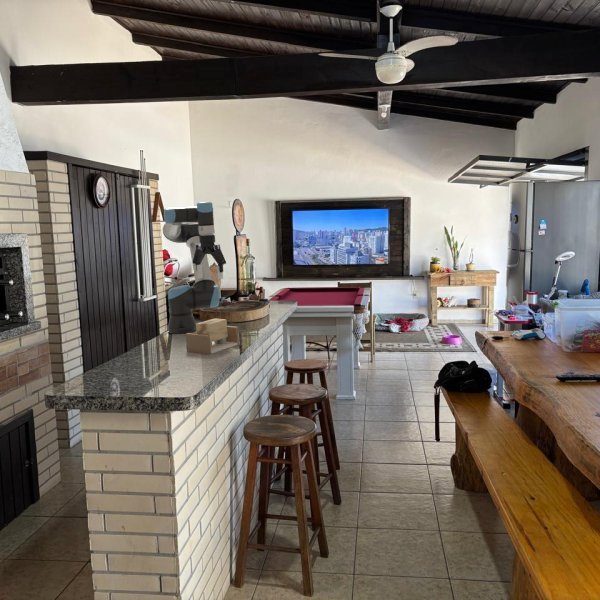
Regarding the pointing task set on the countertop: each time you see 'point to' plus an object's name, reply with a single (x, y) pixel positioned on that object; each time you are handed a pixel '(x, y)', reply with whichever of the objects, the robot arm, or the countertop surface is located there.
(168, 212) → the robot arm
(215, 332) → the shelf block
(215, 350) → the peg stand
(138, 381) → the countertop surface
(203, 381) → the countertop surface
